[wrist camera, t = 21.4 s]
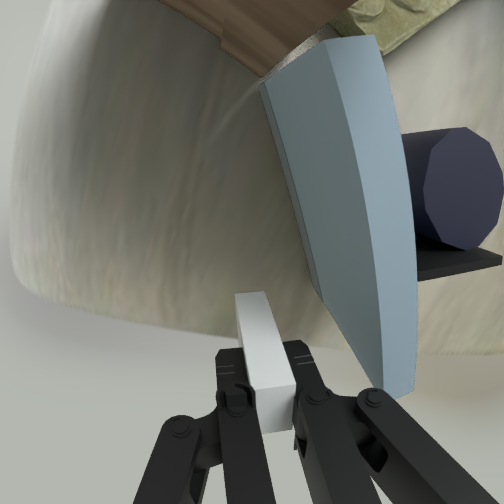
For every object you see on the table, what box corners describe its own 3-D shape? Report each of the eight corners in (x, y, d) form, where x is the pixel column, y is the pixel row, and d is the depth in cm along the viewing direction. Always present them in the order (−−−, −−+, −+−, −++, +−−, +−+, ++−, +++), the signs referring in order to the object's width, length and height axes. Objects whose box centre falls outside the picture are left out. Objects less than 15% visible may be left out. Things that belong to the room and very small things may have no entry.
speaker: (394, 252, 22) (491, 312, 12) (325, 230, 21) (411, 291, 11) (424, 154, 20) (536, 163, 10) (358, 122, 19) (465, 103, 9)
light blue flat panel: (257, 87, 17) (321, 40, 6) (283, 80, 17) (376, 34, 6) (312, 286, 22) (382, 405, 12) (334, 278, 22) (414, 390, 12)
